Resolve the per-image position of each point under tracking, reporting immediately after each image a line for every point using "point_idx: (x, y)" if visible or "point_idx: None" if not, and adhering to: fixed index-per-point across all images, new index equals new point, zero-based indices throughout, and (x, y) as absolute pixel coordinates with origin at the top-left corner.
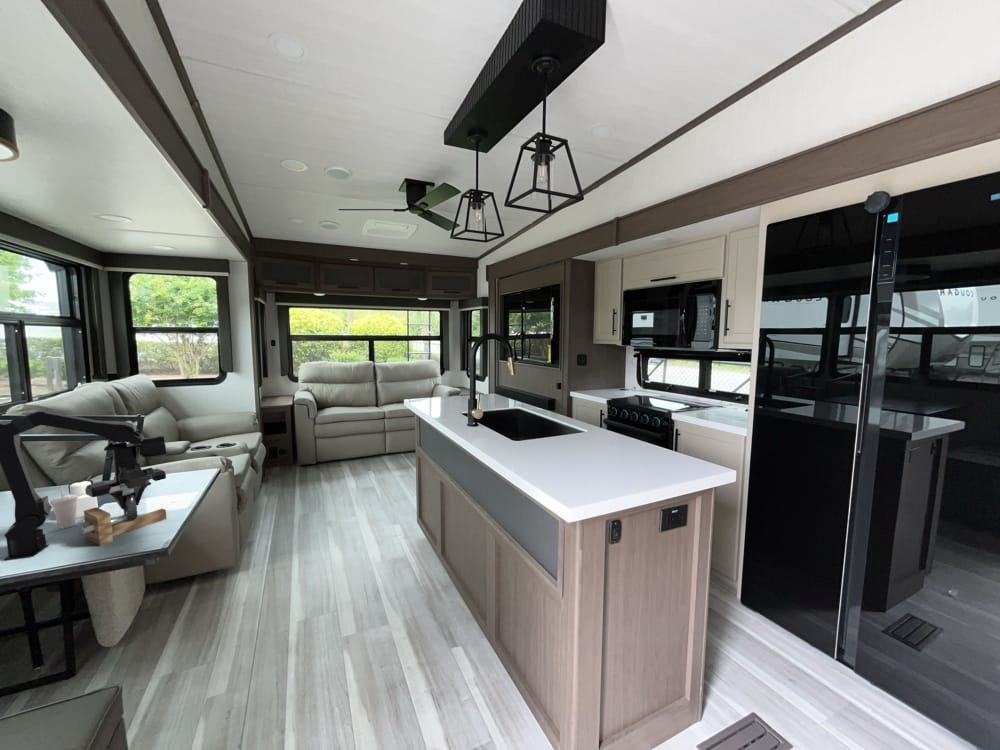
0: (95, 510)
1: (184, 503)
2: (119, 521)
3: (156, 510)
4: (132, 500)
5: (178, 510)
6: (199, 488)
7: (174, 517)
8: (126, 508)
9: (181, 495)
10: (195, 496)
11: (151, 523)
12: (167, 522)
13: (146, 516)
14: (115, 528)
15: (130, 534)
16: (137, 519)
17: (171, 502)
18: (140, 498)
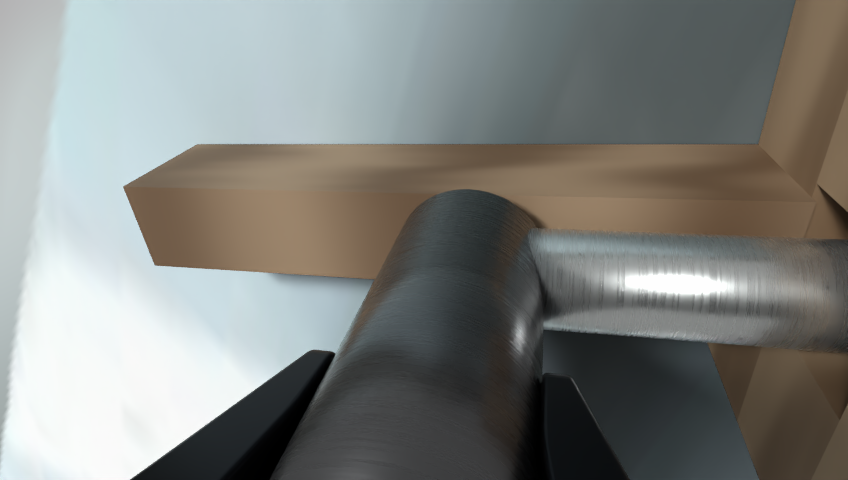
0: None
1: (71, 343)
2: (638, 232)
3: (208, 267)
4: (357, 447)
5: (105, 249)
6: (8, 475)
7: (134, 106)
8: (519, 351)
9: (96, 473)
10: (14, 391)
11: (323, 147)
12: (198, 19)
13: (321, 187)
14: (689, 182)
15: (568, 25)
16: (421, 189)
17: (149, 432)
18: (195, 436)
